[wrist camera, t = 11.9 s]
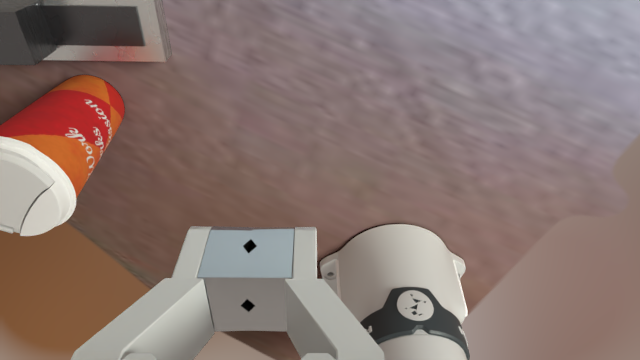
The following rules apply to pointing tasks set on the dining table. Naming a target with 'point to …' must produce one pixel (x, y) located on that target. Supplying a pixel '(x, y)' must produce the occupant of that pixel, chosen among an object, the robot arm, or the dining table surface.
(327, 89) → the dining table surface
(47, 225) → the coffee cup
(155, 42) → the plate
